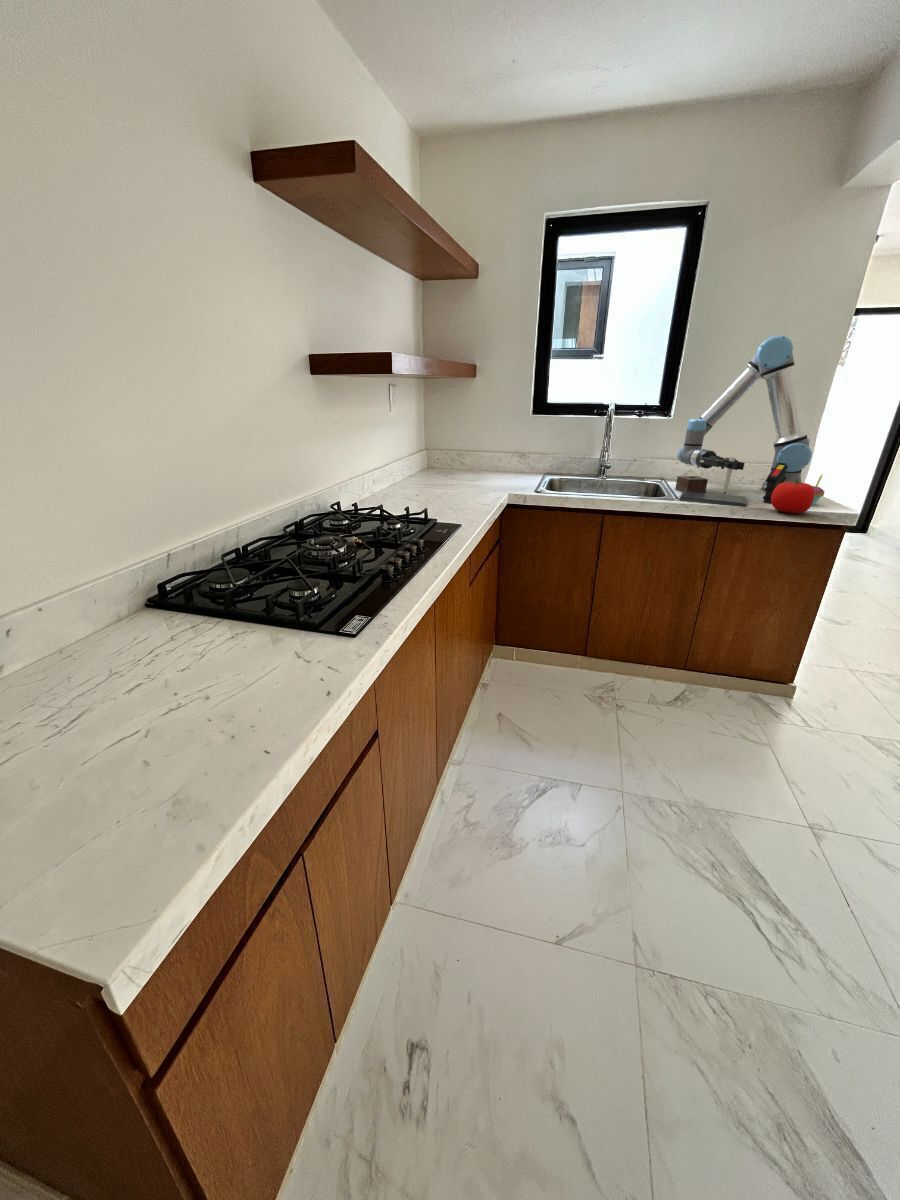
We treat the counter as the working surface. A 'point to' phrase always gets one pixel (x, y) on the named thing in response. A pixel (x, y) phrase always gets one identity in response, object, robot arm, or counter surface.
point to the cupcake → (817, 492)
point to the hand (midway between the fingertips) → (740, 466)
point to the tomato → (792, 497)
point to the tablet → (713, 498)
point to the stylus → (728, 477)
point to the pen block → (691, 484)
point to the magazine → (775, 480)
